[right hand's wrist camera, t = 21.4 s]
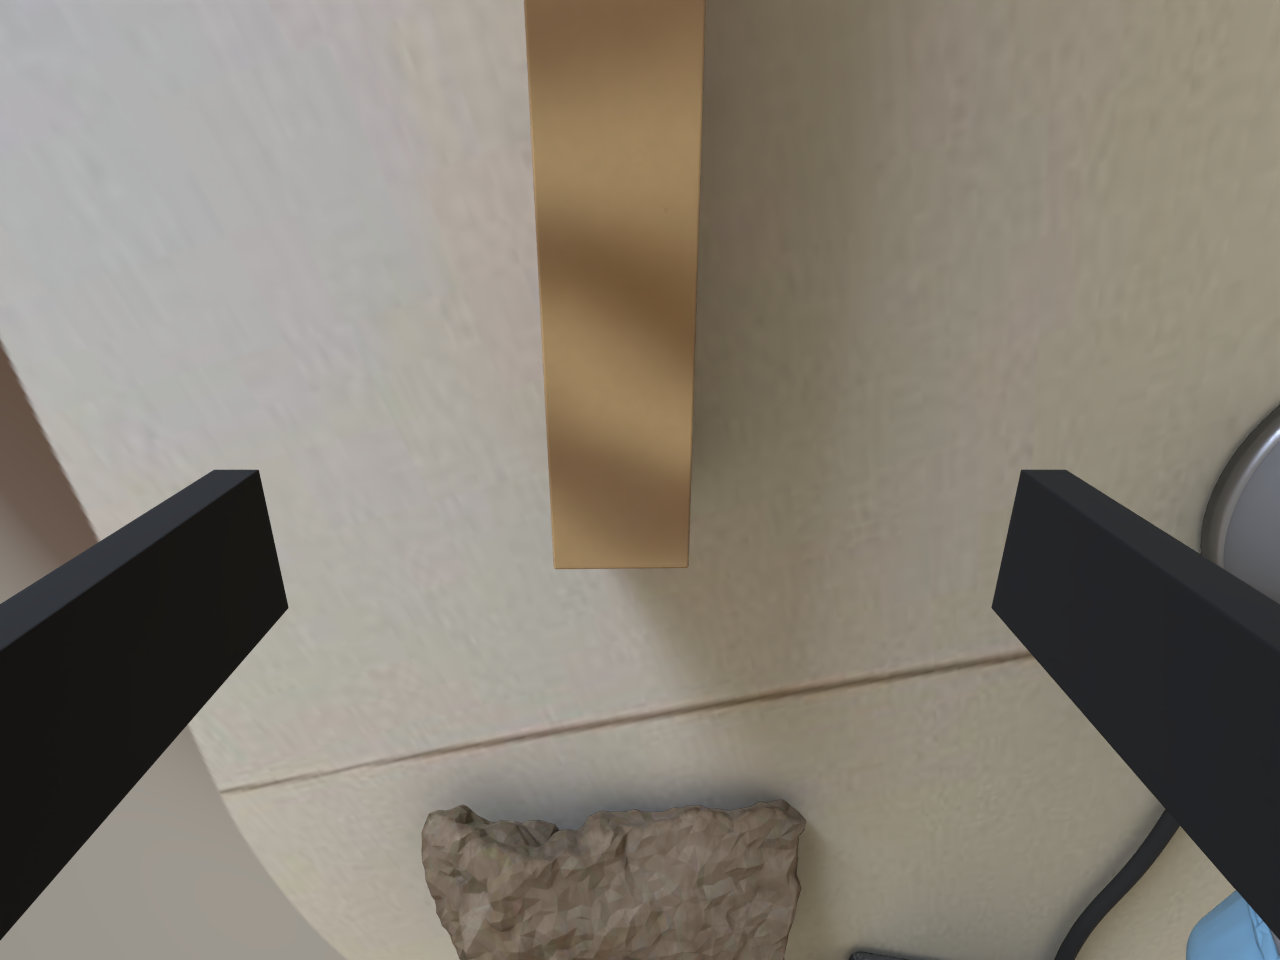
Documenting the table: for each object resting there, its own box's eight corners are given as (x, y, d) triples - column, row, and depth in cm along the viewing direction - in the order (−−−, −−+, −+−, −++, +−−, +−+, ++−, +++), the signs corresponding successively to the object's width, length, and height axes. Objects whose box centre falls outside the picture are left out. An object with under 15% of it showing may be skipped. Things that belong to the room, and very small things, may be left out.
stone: (433, 1012, 42) (422, 1117, 36) (424, 786, 40) (411, 859, 34) (765, 960, 46) (804, 1047, 40) (775, 752, 44) (818, 812, 38)
